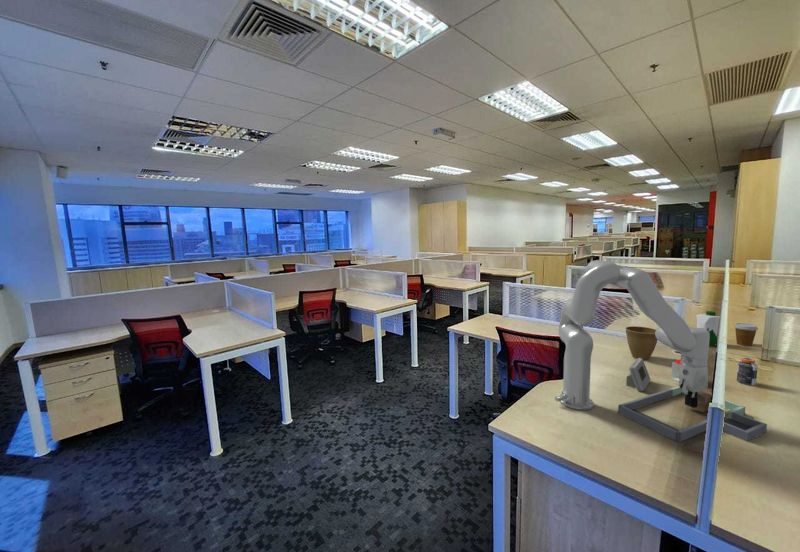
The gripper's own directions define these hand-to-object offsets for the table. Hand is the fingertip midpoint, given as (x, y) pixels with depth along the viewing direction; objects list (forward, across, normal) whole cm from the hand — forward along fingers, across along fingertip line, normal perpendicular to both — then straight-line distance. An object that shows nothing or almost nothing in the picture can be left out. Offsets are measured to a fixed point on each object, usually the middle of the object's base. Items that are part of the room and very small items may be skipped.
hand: (690, 405), depth 123 cm
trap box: (+2, -6, -4) cm, 8 cm away
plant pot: (+2, +38, +42) cm, 57 cm away
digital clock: (+2, +4, +21) cm, 22 cm away
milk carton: (+2, +93, +40) cm, 101 cm away
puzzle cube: (+2, +28, +16) cm, 33 cm away
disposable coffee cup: (+2, +112, +30) cm, 115 cm away
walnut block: (+2, +6, 0) cm, 6 cm away
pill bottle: (+2, +48, +3) cm, 48 cm away
